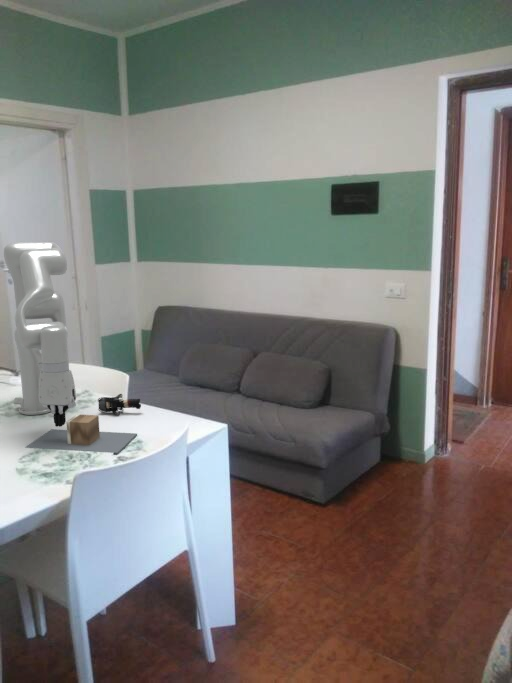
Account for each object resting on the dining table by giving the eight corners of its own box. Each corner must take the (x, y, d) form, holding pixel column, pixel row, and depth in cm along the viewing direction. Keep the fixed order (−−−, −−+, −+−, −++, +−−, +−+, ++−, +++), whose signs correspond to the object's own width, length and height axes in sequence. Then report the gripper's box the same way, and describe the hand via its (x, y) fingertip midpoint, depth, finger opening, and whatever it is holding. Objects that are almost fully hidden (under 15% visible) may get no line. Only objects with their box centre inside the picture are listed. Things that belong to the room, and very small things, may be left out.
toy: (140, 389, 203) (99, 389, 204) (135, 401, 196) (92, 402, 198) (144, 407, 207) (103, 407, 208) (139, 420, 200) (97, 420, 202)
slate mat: (24, 449, 170) (24, 447, 170) (51, 430, 186) (51, 429, 186) (117, 454, 166) (117, 452, 166) (137, 435, 181) (137, 433, 181)
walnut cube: (66, 421, 171) (88, 422, 170) (77, 414, 178) (98, 415, 177) (67, 443, 173) (89, 445, 172) (78, 435, 180) (99, 436, 178)
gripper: (26, 369, 170) (31, 428, 173) (73, 370, 168) (77, 430, 171) (39, 363, 177) (43, 420, 181) (84, 364, 175) (88, 422, 178)
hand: (60, 425), depth 176 cm, fingers closed
